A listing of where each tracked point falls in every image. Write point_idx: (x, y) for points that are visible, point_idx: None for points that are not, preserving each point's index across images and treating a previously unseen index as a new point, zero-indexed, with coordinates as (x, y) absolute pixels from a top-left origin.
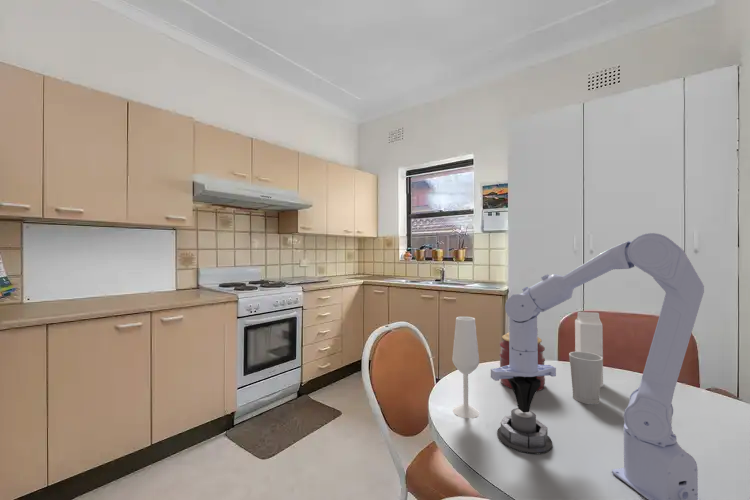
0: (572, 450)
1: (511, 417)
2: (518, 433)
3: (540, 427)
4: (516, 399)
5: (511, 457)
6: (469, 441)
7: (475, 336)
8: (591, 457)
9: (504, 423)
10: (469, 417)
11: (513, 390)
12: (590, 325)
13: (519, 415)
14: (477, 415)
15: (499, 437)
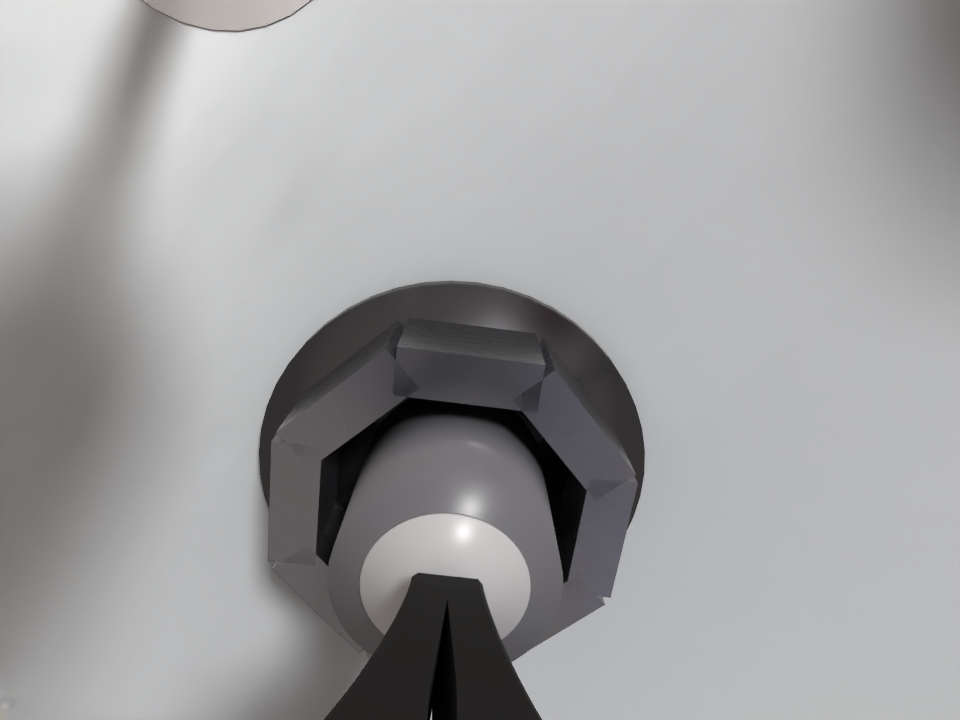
0: (655, 640)
1: (348, 510)
2: (318, 602)
3: (566, 571)
4: (390, 630)
5: (233, 594)
6: (27, 374)
7: None
8: (693, 709)
9: (301, 454)
10: (185, 17)
11: (334, 712)
12: None
13: (372, 612)
14: (291, 4)
15: (262, 431)
